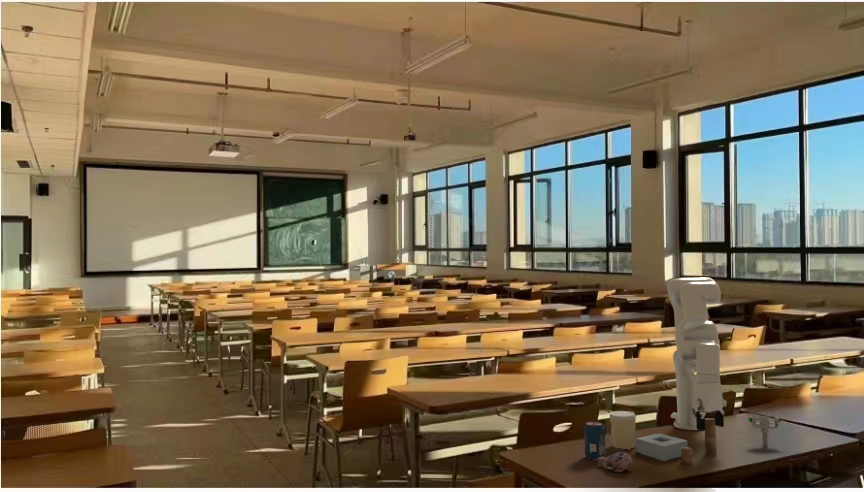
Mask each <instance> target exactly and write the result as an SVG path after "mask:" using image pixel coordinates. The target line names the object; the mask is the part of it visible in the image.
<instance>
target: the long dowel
mask: <svg viewBox="0 0 864 492" xmlns="http://www.w3.org/2000/svg"><path fill="white" fill-rule="evenodd" d="M704 419H705V426H706V430H705V431H704V447H705V449H704V451H705V455H706V456H709V455H711V456H710V457H715V455H716V456H717V434H716V432H717V431H716V429H717V428H716V425H715V418H704Z"/></svg>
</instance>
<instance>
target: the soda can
mask: <svg viewBox="0 0 864 492" xmlns="http://www.w3.org/2000/svg"><path fill="white" fill-rule="evenodd" d="M603 424H604V423H603V422H601V421H595V420H594V421H593V420H592V421H586V422H585V425H584V427H583V428H584V429H583V432H584V434H583V435H584V454H585V456H586V458H587V457H588V458H590V459H598V458H600V457H606V433H605V432H606V430H605V427H604V425H603ZM588 458H587V459H588ZM590 459H589V460H590Z"/></svg>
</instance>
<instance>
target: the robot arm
mask: <svg viewBox="0 0 864 492" xmlns="http://www.w3.org/2000/svg"><path fill="white" fill-rule="evenodd" d="M666 288H667V289H666V290H667V295H668V299H669V301H670V303H671V306H672V308H673V313H674V316H673V317H674V332H675V334H674V339H675V346H676V350H675V351H674V352H673V354H672V361H673V366H674V371H675V381H676V382H675V383H676V384H675V385H676V387H675V388H676V406H677V407H676V409H677V412H672V413H671V414H670V418H672V419H675V421H674V422H673V427H675V428H678V429H680V430H681V429H682V430H685V431H686V430H687V431H703V432H705V430H706V426H705V419H706V418H705V416H706V414H707V413H714V419H715V427H720V428H721V427H722V428H723V427H724V426H725V425H724V424H725V422H724V421H725V419H724V418H725V417H724V415H725V414H726V413H725V411H726V410H727V409H726V407H727V400H725V399H724V398H723V390H722V388H723V387H722V384H721V375H720V374H721V373H720V367H721V357H720V356H721V355H720V354H721V353H720V352H721V349H720V343H719V332H718V327H717V325H716V323H714V321H711V320H709V312H708V308H707V304H709V305H711V304H715V305H716V304H719V302H721V299H722V298H721V297H722V293H721V292H722V291H721V288H720V285H719V284H718V282H716V281H715V280H714V279H712V278H711V277H679V278H673V279H671V280H669V281H668V282H667V285H666Z"/></svg>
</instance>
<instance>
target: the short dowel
mask: <svg viewBox="0 0 864 492" xmlns="http://www.w3.org/2000/svg"><path fill="white" fill-rule="evenodd" d="M680 458H681V459H680V461H681V465H683V464H684V465H683V466H692V464H694V463H693V462H694V461H693V448H692V447H689V446H688V447H682V448H681V457H680Z"/></svg>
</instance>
